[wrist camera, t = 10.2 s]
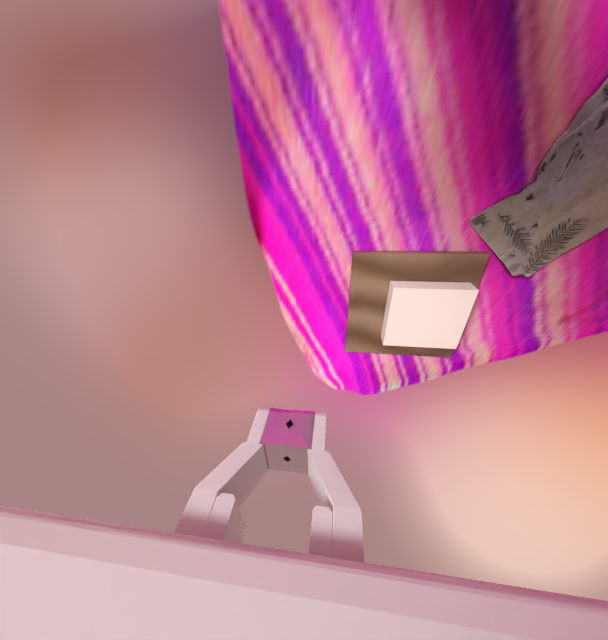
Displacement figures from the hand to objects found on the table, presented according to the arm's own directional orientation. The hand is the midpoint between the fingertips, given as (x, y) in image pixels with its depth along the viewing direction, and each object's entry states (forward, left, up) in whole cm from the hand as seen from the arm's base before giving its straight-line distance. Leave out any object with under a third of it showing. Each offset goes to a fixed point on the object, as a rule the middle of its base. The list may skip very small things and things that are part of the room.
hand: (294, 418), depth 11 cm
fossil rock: (-6, +28, -30) cm, 41 cm away
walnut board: (+10, +13, -29) cm, 33 cm away
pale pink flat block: (+10, +10, -26) cm, 30 cm away
